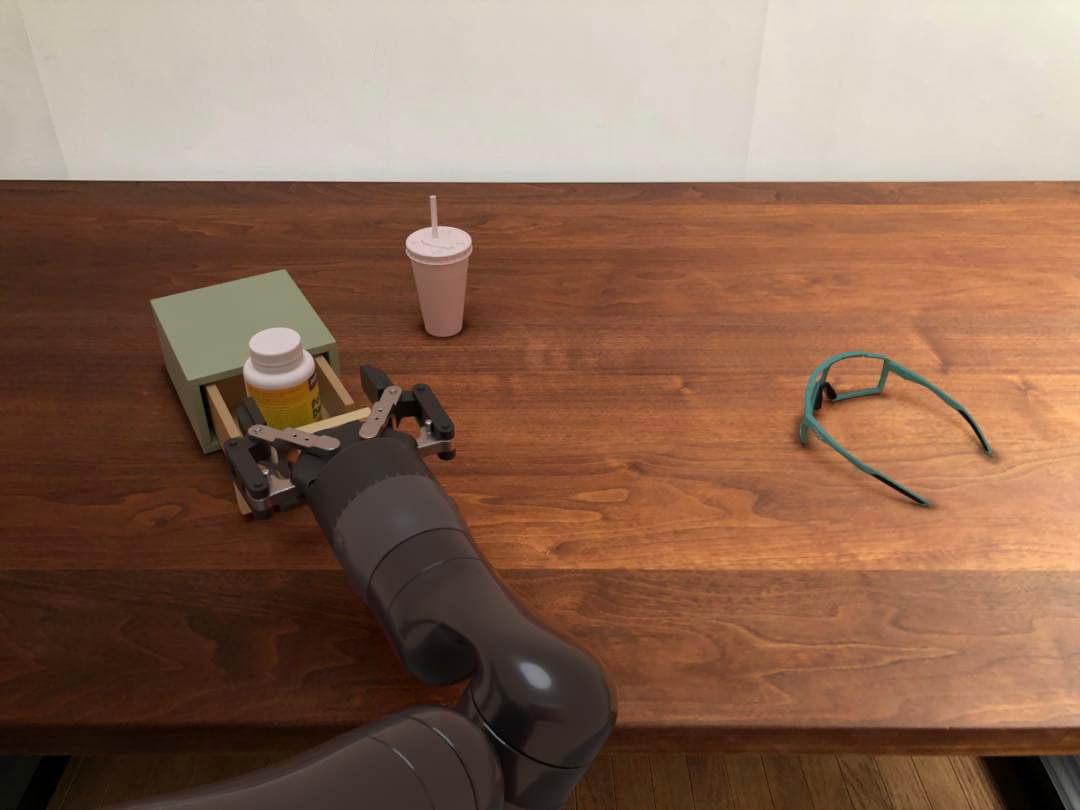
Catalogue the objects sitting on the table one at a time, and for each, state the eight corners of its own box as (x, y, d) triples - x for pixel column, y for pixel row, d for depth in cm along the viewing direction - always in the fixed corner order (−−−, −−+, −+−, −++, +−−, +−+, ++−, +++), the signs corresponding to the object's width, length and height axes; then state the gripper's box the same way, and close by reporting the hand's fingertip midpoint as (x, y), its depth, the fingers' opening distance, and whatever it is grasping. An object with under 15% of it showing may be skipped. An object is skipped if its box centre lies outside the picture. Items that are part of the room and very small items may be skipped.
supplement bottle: (330, 459, 86) (315, 353, 80) (260, 471, 85) (239, 365, 79) (321, 419, 90) (306, 317, 84) (255, 430, 89) (235, 327, 83)
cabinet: (345, 413, 94) (336, 341, 90) (204, 454, 89) (187, 380, 85) (295, 336, 105) (285, 268, 100) (166, 369, 100) (149, 299, 95)
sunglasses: (855, 372, 100) (869, 330, 96) (997, 458, 92) (1018, 414, 88) (762, 433, 92) (775, 389, 89) (909, 532, 84) (928, 487, 81)
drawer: (403, 507, 83) (397, 448, 79) (260, 554, 78) (248, 495, 75) (326, 387, 96) (318, 333, 93) (200, 423, 92) (187, 367, 88)
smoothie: (451, 304, 110) (444, 178, 102) (488, 329, 106) (484, 200, 98) (399, 324, 107) (388, 196, 98) (435, 351, 103) (427, 220, 94)
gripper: (287, 614, 62) (216, 461, 74) (502, 537, 68) (405, 406, 79) (268, 520, 58) (196, 373, 69) (500, 445, 63) (398, 320, 75)
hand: (308, 390), depth 74 cm, fingers open, 8 cm apart
